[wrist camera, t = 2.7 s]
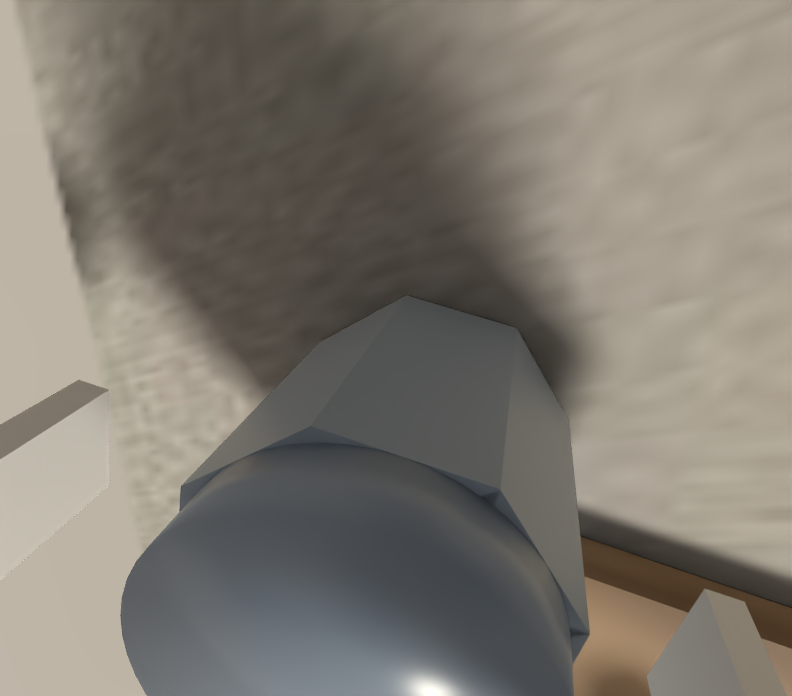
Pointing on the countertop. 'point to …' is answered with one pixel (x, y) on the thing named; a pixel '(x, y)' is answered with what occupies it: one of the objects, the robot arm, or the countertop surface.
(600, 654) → the brown wooden square board
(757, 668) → the robot arm
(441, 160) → the countertop surface
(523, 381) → the cap
